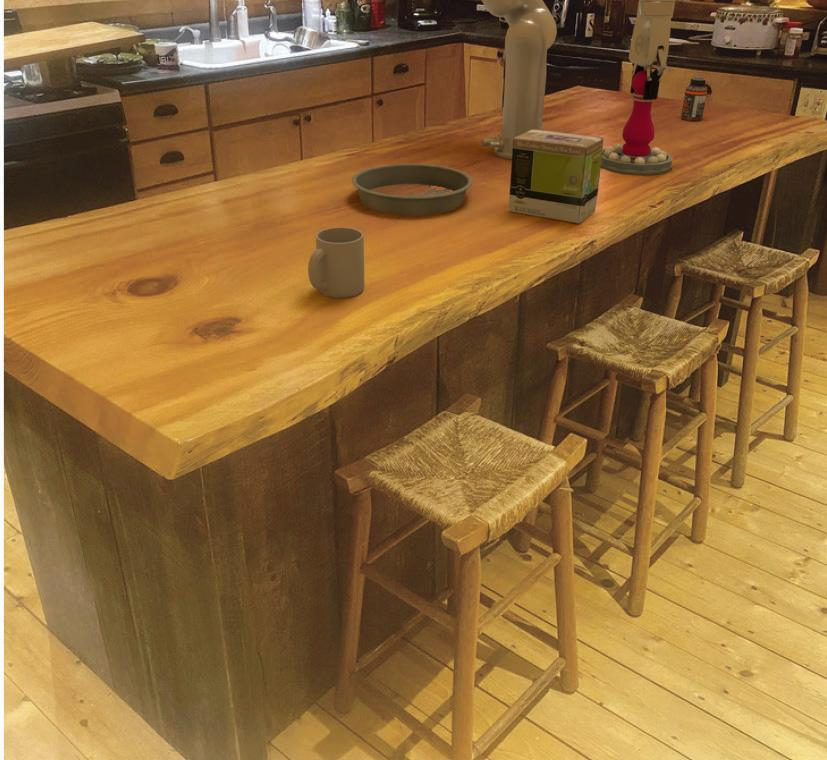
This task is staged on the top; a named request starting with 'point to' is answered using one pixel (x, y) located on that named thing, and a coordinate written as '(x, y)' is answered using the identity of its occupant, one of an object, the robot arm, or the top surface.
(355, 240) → the cup
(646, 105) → the pepper mill
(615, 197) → the top surface
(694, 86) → the supplement bottle
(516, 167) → the tea box
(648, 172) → the bead tray
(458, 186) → the cake pan
